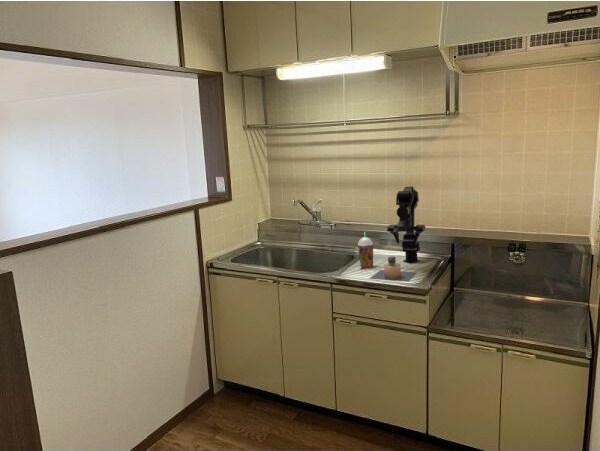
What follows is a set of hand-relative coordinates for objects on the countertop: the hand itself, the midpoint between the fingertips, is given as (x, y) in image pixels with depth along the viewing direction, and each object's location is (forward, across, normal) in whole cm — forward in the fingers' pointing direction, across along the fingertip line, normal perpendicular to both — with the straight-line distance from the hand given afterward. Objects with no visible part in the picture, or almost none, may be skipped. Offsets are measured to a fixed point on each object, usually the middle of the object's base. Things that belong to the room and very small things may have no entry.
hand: (406, 244), depth 236 cm
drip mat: (+13, -2, -17) cm, 21 cm away
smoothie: (+13, -22, -4) cm, 26 cm away
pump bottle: (+12, -2, -20) cm, 23 cm away
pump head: (+6, -2, -21) cm, 22 cm away
